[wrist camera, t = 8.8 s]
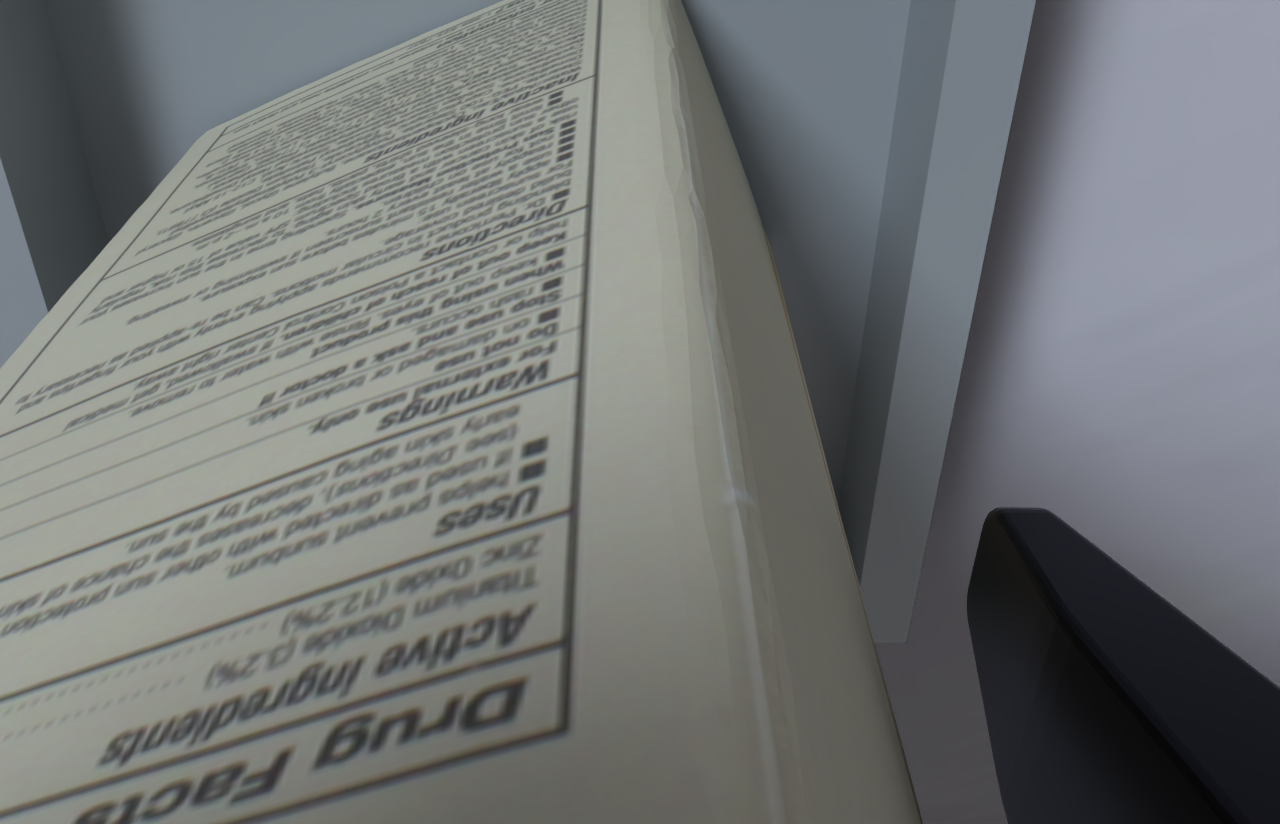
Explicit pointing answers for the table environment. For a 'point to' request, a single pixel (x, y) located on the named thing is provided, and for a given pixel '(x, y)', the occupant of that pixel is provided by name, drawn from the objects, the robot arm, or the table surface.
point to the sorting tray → (761, 130)
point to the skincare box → (439, 469)
